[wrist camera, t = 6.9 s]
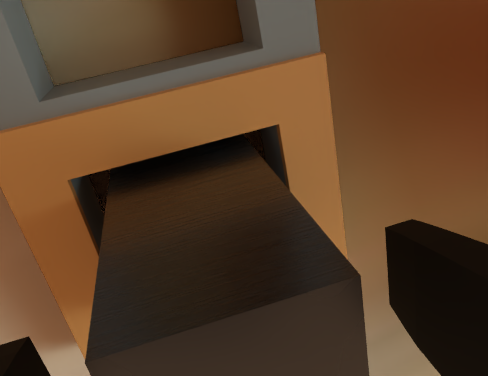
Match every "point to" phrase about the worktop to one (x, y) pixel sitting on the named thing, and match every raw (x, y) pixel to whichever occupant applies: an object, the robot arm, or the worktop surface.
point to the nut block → (219, 274)
